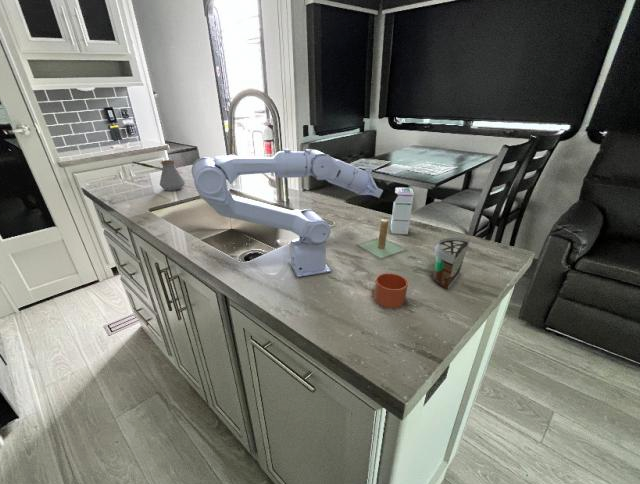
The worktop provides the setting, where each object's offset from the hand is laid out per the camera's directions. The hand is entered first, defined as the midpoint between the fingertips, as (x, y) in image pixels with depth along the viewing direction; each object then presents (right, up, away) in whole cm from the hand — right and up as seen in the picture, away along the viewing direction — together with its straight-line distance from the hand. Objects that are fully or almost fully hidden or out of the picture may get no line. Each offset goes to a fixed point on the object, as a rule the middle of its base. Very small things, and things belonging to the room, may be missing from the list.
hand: (387, 193), depth 87 cm
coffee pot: (-90, +17, +67) cm, 113 cm away
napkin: (+1, -14, +13) cm, 19 cm away
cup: (-2, -28, -10) cm, 29 cm away
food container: (+14, -23, -2) cm, 27 cm away
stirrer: (+1, -14, +13) cm, 19 cm away
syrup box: (+10, -8, +24) cm, 27 cm away
